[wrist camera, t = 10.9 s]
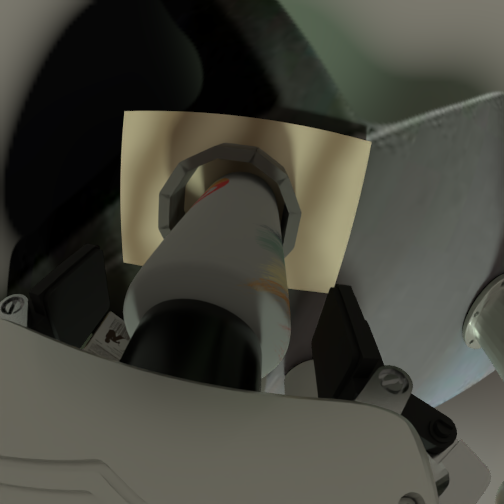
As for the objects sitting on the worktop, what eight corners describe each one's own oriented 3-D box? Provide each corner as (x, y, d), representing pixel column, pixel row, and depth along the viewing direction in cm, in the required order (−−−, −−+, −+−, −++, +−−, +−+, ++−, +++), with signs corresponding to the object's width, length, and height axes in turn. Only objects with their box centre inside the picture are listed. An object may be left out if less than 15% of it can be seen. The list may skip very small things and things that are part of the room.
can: (300, 348, 30) (310, 441, 19) (354, 361, 31) (375, 444, 20) (274, 385, 33) (274, 467, 22) (323, 395, 34) (334, 470, 23)
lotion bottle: (192, 210, 23) (38, 438, 4) (235, 155, 20) (56, 356, 2) (246, 251, 24) (207, 513, 6) (291, 201, 22) (361, 480, 4)
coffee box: (127, 370, 34) (86, 464, 19) (90, 344, 32) (38, 433, 18) (153, 339, 31) (105, 455, 16) (109, 308, 29) (41, 415, 15)
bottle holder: (366, 141, 20) (392, 146, 16) (329, 287, 26) (340, 320, 22) (130, 111, 20) (99, 110, 15) (128, 256, 26) (104, 283, 21)
